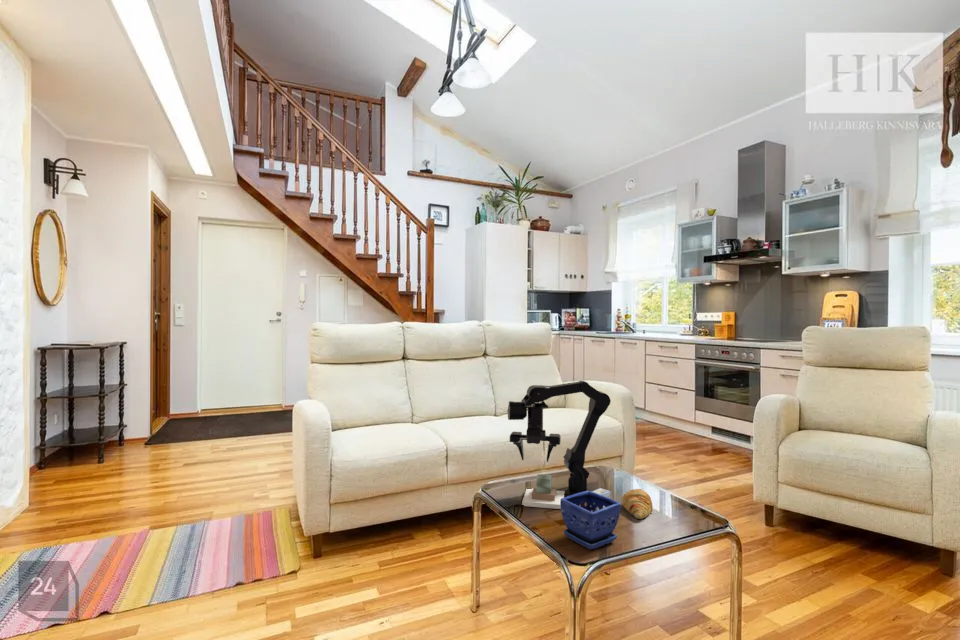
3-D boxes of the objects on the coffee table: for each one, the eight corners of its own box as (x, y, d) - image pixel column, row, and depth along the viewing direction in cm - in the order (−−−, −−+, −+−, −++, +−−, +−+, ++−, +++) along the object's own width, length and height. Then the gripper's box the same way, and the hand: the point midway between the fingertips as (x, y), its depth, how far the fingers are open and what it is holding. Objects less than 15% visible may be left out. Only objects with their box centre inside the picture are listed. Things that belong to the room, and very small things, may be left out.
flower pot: (622, 543, 143) (623, 502, 143) (591, 555, 136) (592, 512, 136) (588, 527, 154) (588, 489, 154) (558, 537, 147) (558, 498, 147)
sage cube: (551, 488, 179) (551, 475, 179) (550, 493, 174) (550, 479, 174) (537, 487, 180) (537, 474, 180) (536, 492, 175) (536, 478, 175)
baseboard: (564, 495, 182) (564, 485, 182) (562, 509, 168) (562, 499, 168) (526, 492, 185) (527, 482, 185) (522, 505, 171) (522, 495, 171)
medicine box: (599, 513, 165) (599, 487, 165) (611, 517, 162) (611, 490, 162) (586, 519, 160) (586, 493, 160) (598, 524, 157) (598, 496, 157)
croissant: (648, 533, 158) (661, 512, 157) (620, 516, 160) (632, 495, 159) (642, 507, 179) (653, 489, 178) (616, 492, 180) (627, 474, 179)
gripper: (507, 422, 178) (507, 465, 179) (559, 425, 175) (559, 468, 175) (511, 416, 189) (511, 457, 189) (560, 418, 185) (560, 460, 185)
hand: (535, 460), depth 184 cm, fingers open, 9 cm apart
